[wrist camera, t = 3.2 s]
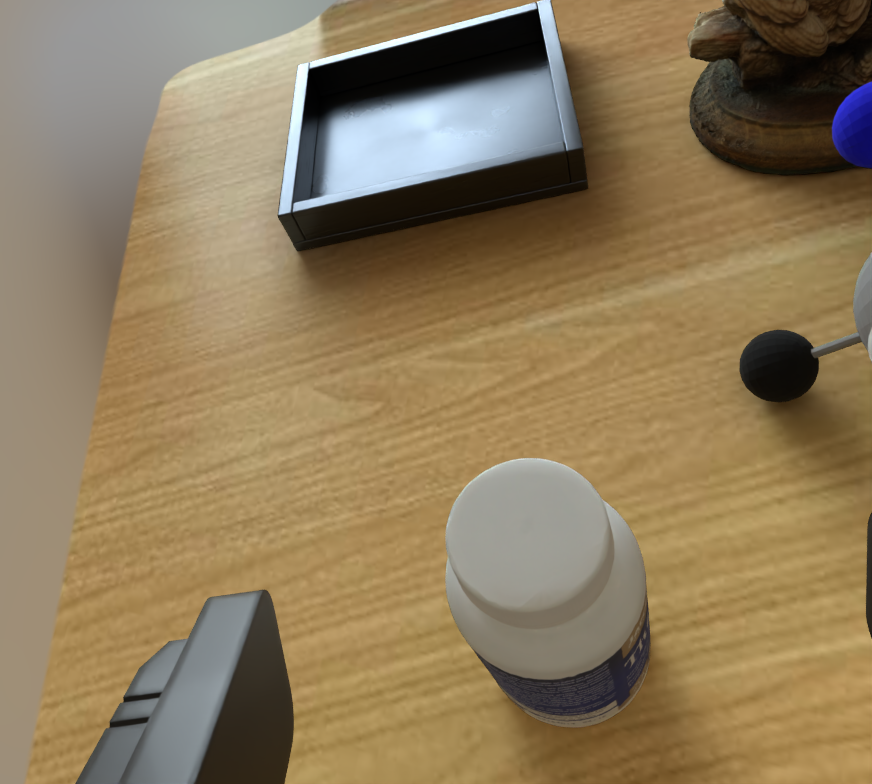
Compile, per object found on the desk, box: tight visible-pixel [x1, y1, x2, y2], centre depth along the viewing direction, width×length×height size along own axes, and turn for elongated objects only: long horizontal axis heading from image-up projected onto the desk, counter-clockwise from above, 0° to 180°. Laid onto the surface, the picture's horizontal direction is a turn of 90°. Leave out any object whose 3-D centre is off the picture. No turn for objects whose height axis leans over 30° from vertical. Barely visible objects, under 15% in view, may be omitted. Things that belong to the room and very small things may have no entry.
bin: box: [278, 0, 588, 251], centre depth 42 cm, size 16×14×3 cm
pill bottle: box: [446, 458, 651, 728], centre depth 22 cm, size 5×5×10 cm
